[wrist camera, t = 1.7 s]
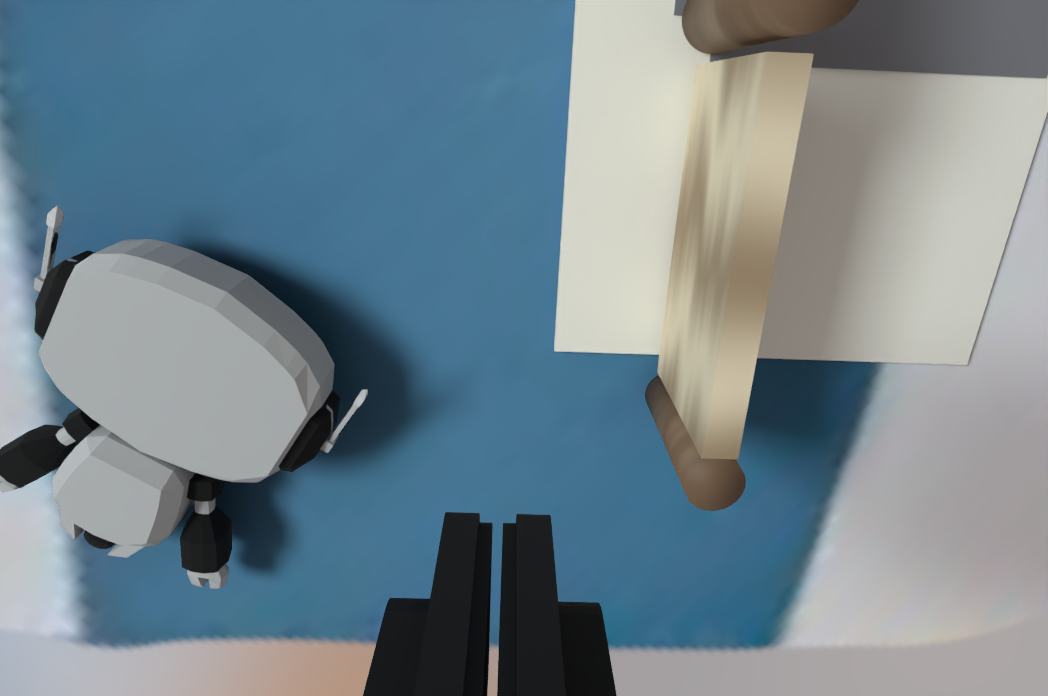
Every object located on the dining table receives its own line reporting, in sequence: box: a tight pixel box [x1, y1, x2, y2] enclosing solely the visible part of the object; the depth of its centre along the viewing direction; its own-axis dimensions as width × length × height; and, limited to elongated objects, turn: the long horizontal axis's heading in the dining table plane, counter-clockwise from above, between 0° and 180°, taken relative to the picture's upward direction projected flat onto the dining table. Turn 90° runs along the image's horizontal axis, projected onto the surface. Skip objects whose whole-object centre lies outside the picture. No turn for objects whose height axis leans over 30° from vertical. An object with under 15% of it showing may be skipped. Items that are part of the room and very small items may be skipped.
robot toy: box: [0, 205, 368, 589], centre depth 27 cm, size 12×4×15 cm
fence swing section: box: [645, 52, 814, 511], centre depth 22 cm, size 14×2×7 cm, turn 178°
